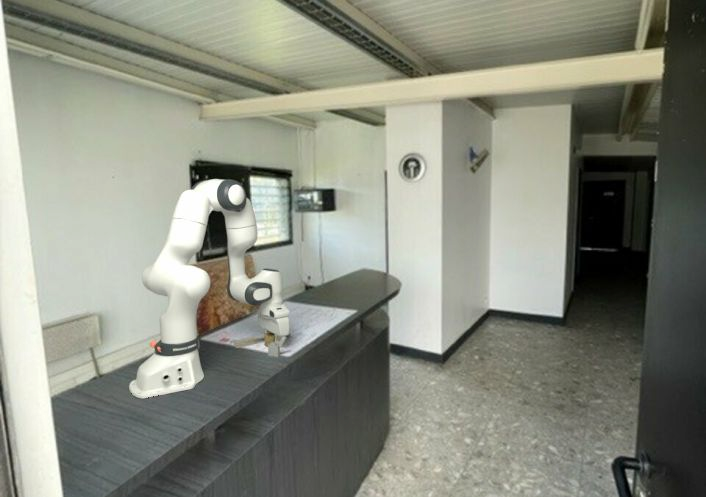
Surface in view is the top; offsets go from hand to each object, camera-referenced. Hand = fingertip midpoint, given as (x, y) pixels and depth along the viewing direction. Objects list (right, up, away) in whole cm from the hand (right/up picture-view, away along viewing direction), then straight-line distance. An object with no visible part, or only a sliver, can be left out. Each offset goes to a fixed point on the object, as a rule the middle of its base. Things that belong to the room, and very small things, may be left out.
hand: (272, 341), depth 174 cm
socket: (0, -2, 0) cm, 2 cm away
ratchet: (-5, -1, +6) cm, 8 cm away
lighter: (+4, -3, -11) cm, 12 cm away
